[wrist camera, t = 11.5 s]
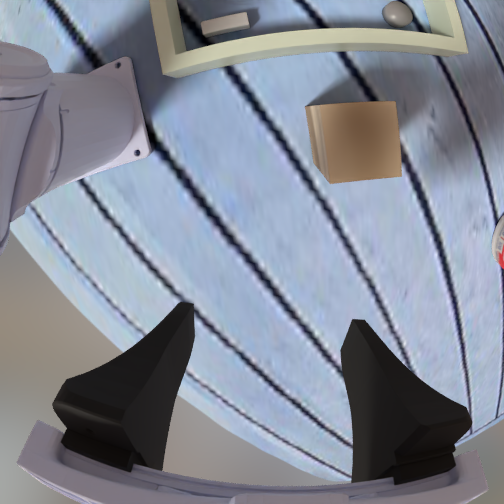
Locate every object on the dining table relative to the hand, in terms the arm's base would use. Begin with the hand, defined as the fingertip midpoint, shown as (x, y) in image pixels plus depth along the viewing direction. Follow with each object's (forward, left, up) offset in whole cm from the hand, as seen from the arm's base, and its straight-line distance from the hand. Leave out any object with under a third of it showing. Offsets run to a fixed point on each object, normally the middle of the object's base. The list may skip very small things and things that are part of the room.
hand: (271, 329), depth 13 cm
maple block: (+6, +7, -10) cm, 14 cm away
